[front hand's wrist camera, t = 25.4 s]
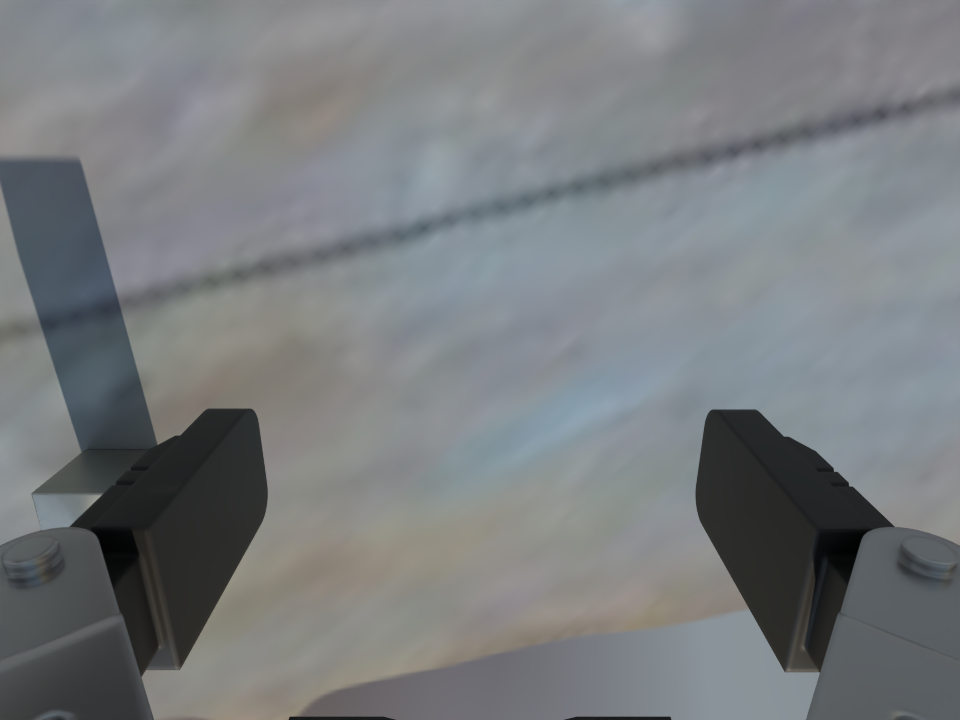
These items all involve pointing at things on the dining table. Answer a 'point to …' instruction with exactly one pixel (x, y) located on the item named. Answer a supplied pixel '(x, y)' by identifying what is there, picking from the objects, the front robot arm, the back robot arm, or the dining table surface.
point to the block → (80, 485)
